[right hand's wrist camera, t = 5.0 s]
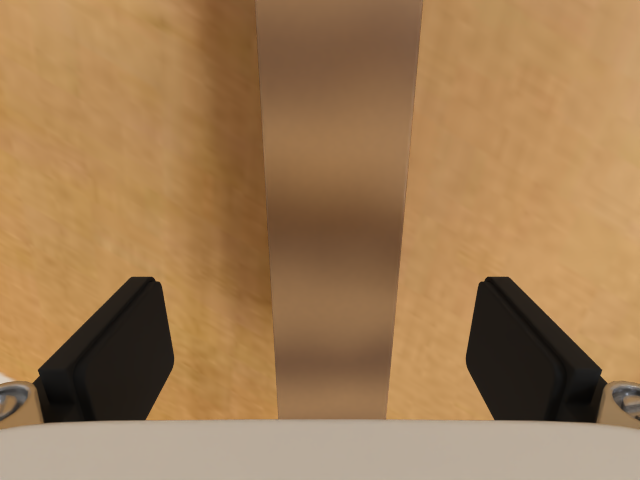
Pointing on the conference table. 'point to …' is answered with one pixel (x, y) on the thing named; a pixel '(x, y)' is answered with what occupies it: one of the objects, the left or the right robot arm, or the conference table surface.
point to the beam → (335, 194)
